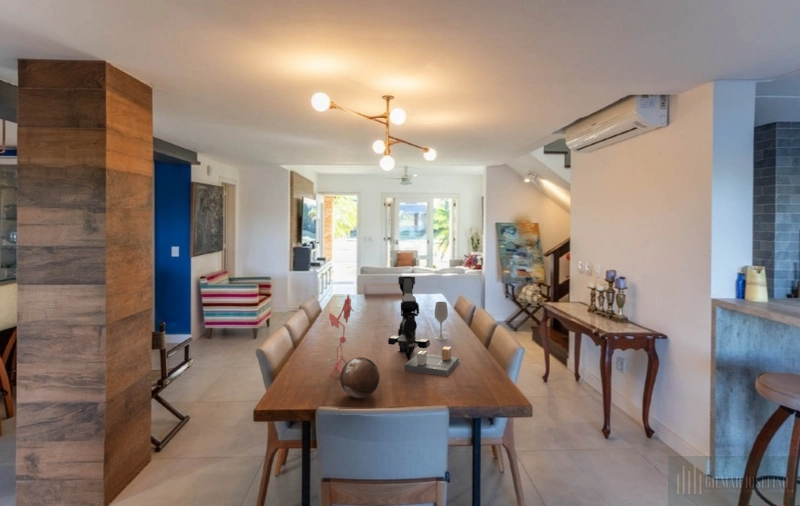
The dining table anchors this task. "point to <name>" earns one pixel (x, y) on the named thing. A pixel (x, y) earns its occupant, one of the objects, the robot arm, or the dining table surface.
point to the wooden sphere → (359, 377)
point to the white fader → (421, 357)
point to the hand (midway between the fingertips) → (408, 360)
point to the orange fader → (446, 353)
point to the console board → (432, 365)
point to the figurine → (336, 322)
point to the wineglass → (441, 316)
